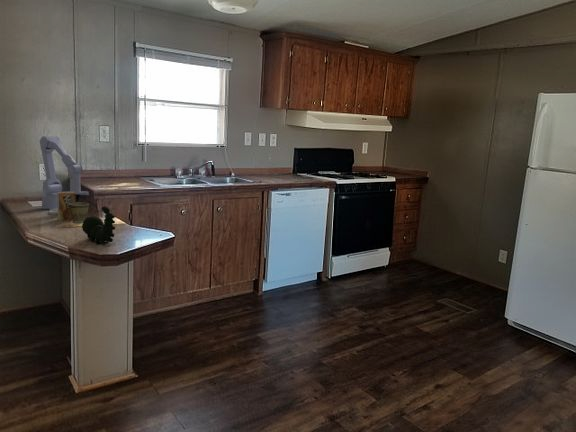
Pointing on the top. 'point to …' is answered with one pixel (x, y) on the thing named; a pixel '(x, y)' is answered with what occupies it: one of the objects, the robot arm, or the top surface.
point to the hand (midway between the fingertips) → (75, 207)
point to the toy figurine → (99, 227)
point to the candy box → (65, 204)
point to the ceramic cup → (79, 211)
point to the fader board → (53, 212)
